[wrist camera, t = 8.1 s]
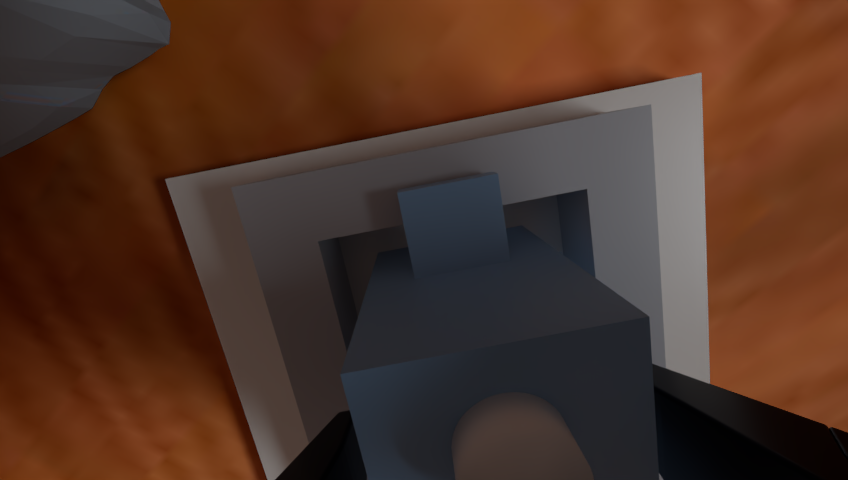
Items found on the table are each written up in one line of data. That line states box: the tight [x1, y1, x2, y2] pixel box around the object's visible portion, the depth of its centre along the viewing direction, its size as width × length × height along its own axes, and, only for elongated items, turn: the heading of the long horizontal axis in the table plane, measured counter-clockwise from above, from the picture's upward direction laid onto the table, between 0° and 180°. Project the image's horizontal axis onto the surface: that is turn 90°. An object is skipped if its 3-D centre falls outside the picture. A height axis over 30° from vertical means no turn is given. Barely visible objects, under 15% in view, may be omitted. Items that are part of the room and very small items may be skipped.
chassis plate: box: [165, 73, 710, 480], centre depth 11 cm, size 12×14×3 cm
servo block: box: [340, 172, 659, 480], centre depth 8 cm, size 10×4×7 cm, turn 11°
